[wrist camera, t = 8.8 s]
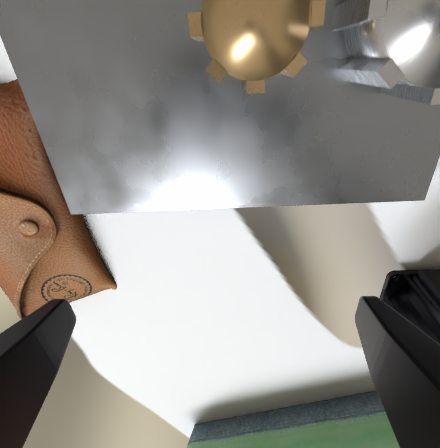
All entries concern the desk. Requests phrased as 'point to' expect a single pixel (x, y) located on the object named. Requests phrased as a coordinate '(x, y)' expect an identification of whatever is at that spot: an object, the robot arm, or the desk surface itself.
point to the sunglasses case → (39, 220)
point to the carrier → (230, 100)
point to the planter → (304, 427)
